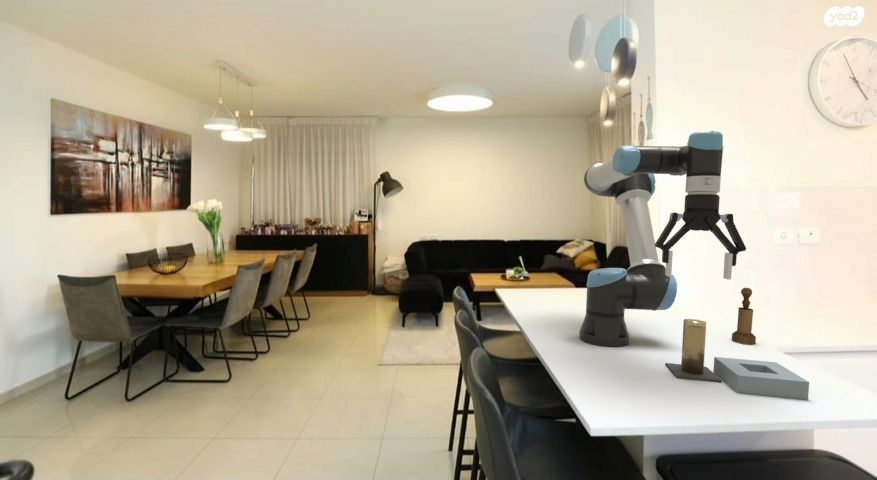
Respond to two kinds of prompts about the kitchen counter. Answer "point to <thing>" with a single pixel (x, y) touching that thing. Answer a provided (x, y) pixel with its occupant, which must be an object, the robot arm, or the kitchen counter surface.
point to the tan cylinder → (693, 346)
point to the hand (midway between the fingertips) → (697, 277)
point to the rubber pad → (706, 375)
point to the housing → (761, 378)
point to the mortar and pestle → (744, 321)
